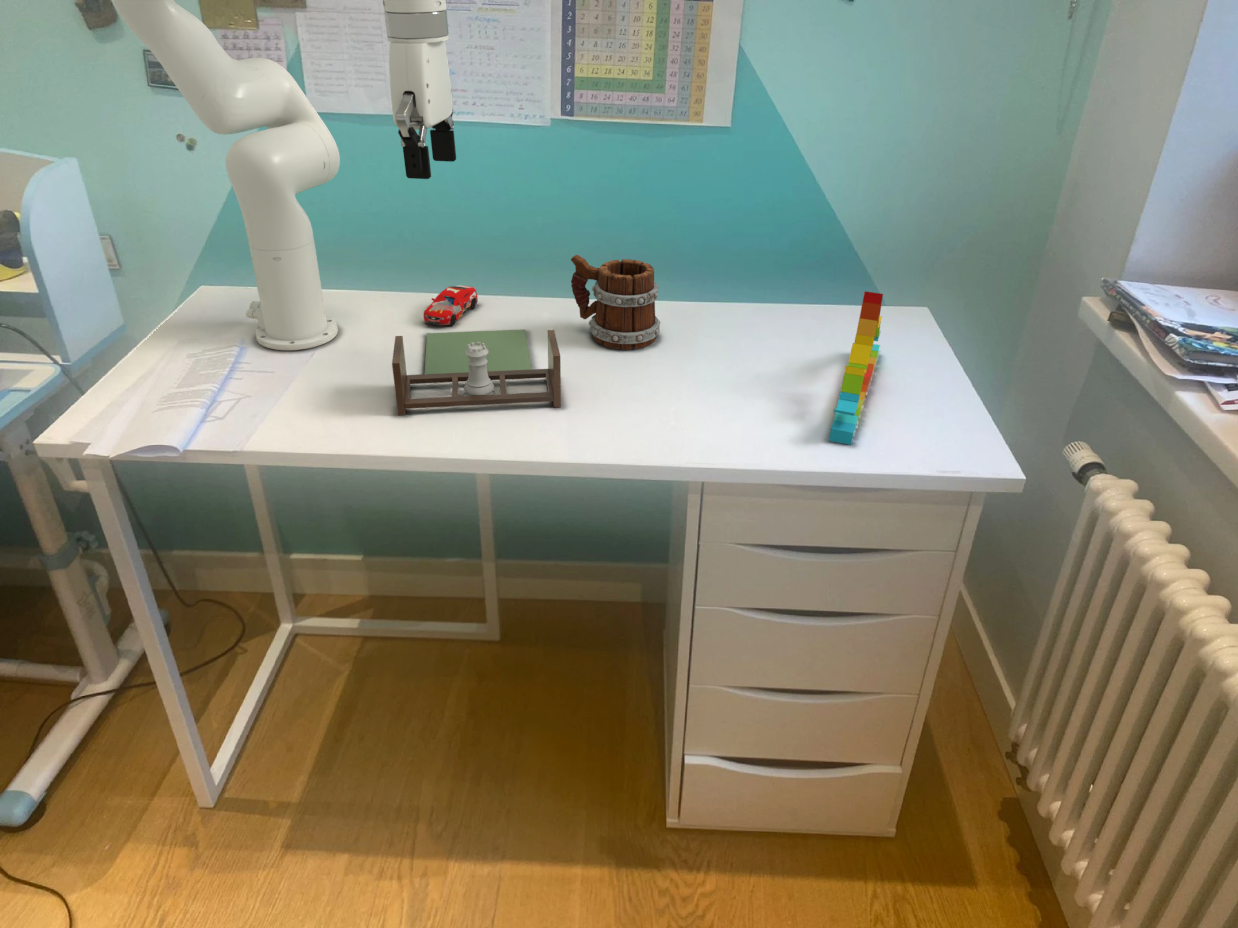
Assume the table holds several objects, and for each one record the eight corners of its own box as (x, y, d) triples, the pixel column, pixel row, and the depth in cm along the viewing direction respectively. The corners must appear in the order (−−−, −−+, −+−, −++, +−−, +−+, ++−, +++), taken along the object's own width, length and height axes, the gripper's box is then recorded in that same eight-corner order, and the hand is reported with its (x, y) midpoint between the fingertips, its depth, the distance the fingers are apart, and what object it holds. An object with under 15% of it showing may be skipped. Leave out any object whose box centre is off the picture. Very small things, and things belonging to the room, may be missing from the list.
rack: (400, 386, 134) (395, 335, 130) (554, 379, 138) (554, 329, 133) (397, 415, 127) (391, 363, 123) (561, 407, 130) (560, 355, 126)
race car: (447, 331, 152) (445, 308, 150) (418, 326, 153) (416, 303, 151) (483, 303, 162) (482, 281, 160) (456, 298, 164) (454, 277, 162)
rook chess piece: (500, 392, 133) (497, 342, 129) (486, 406, 130) (483, 354, 126) (472, 387, 135) (469, 337, 130) (458, 400, 131) (454, 349, 127)
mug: (656, 355, 145) (644, 263, 138) (571, 357, 149) (555, 268, 142) (672, 327, 155) (661, 239, 147) (592, 330, 159) (578, 245, 152)
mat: (427, 335, 150) (426, 333, 150) (525, 331, 152) (525, 329, 152) (424, 379, 137) (424, 376, 136) (532, 374, 139) (532, 371, 139)
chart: (852, 445, 123) (871, 342, 115) (828, 440, 124) (845, 338, 116) (879, 356, 147) (896, 266, 139) (859, 353, 148) (875, 263, 140)
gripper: (414, 20, 121) (428, 154, 130) (359, 35, 107) (379, 184, 115) (468, 21, 120) (479, 156, 129) (420, 36, 105) (436, 187, 114)
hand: (432, 169), depth 122 cm, fingers open, 9 cm apart
